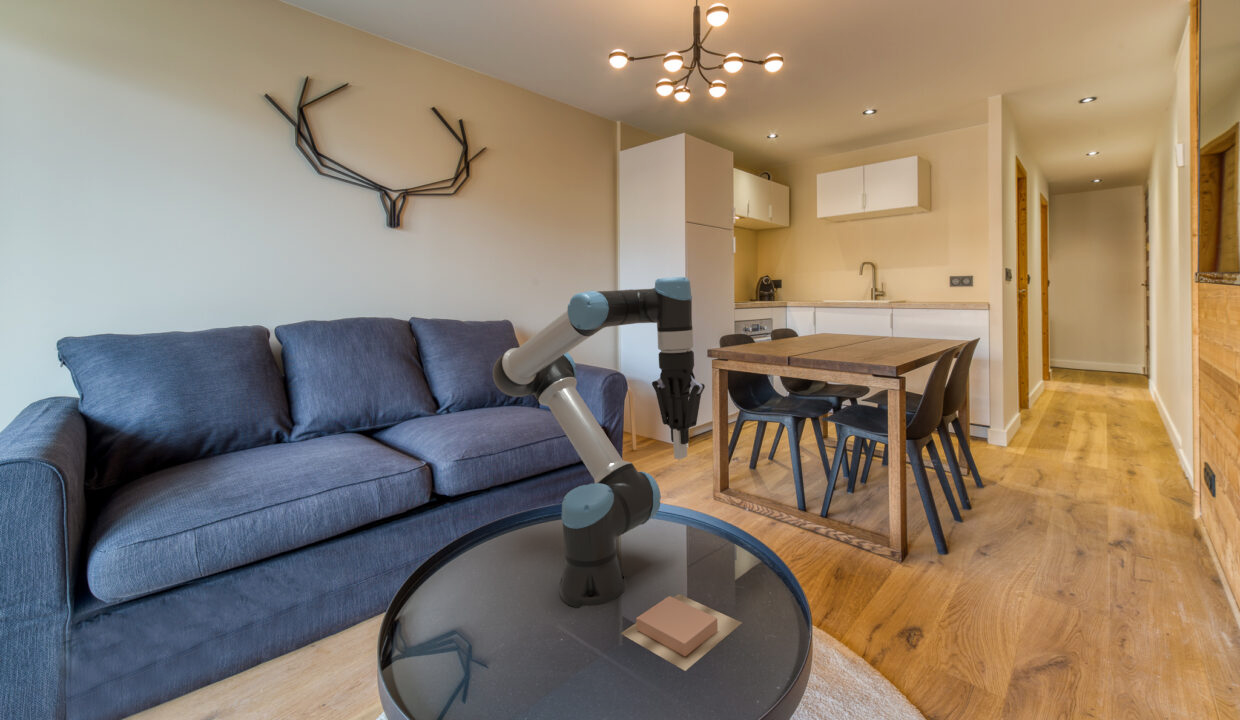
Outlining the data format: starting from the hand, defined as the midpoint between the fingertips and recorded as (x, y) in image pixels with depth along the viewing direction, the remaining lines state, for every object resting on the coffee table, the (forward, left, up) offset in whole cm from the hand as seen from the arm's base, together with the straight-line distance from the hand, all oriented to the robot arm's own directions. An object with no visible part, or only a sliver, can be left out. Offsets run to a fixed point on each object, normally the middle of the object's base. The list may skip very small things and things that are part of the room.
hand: (680, 457), depth 117 cm
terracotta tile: (+9, -9, -28) cm, 31 cm away
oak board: (+9, -13, -30) cm, 34 cm away
